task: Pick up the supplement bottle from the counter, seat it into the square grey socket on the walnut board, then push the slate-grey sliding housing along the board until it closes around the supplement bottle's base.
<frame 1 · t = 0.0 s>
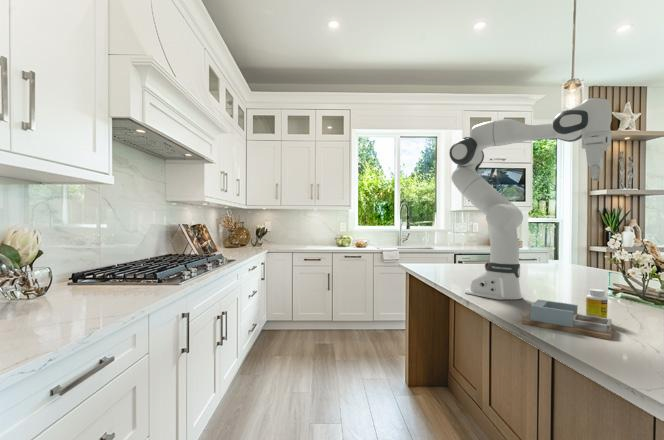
hand: (595, 179, 133), 48 cm above the countertop, tool pointing down, fingers open, 8 cm apart
supplement bottle: (596, 322, 117), on the countertop
board: (567, 326, 111), on the countertop
housing: (554, 312, 113), point 4 cm above the countertop, slide at 0.0 cm
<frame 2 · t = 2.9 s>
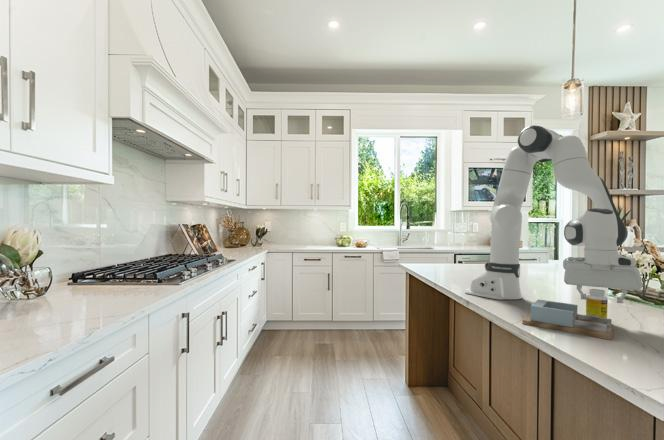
hand: (601, 301, 117), 7 cm above the countertop, tool pointing down, fingers open, 8 cm apart
nothing on the countertop moved.
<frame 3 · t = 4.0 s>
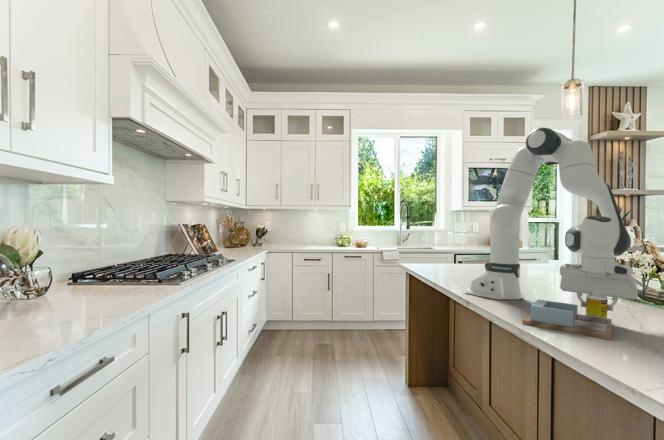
hand: (596, 308, 117), 4 cm above the countertop, tool pointing down, fingers closed on supplement bottle, 5 cm apart
supplement bottle: (596, 321, 117), on the countertop, touching gripper
everything else where it was.
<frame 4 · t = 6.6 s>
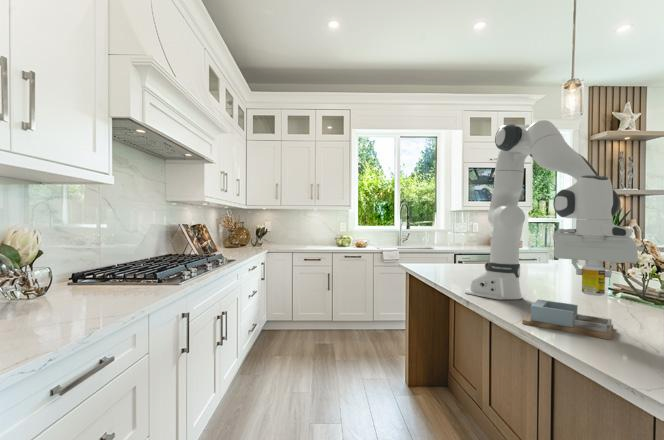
hand: (593, 275, 107), 16 cm above the countertop, tool pointing down, fingers closed on supplement bottle, 5 cm apart
supplement bottle: (593, 294, 107), point 10 cm above the countertop, touching gripper
everything else where it was.
when the fingers open (6 cm above the countertop, at t = 9.1 s): supplement bottle stays where it is, resting on board.
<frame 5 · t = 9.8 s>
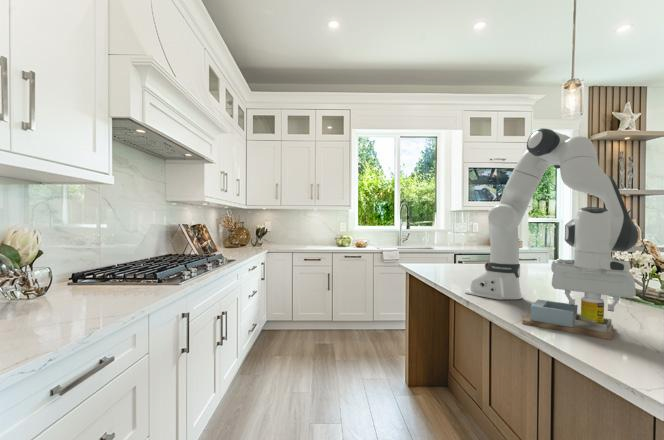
hand: (590, 308, 107), 7 cm above the countertop, tool pointing down, fingers open, 8 cm apart
supplement bottle: (591, 326, 107), point 1 cm above the countertop, touching board
everything else where it was.
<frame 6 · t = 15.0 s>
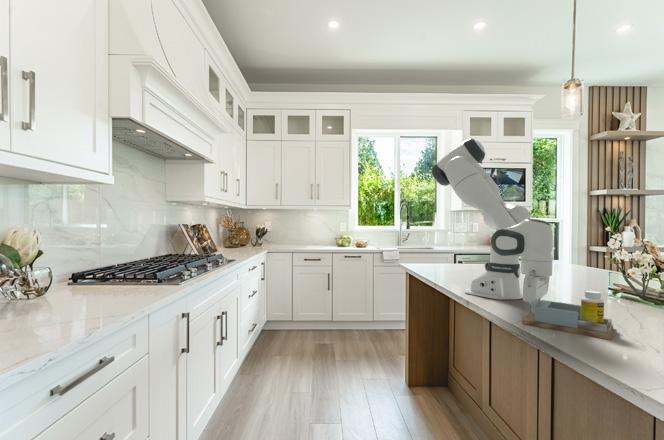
hand: (535, 311, 116), 3 cm above the countertop, tool pointing down, fingers closed
housing: (558, 313, 112), point 4 cm above the countertop, slide at 1.1 cm, touching gripper
everything else where it was.
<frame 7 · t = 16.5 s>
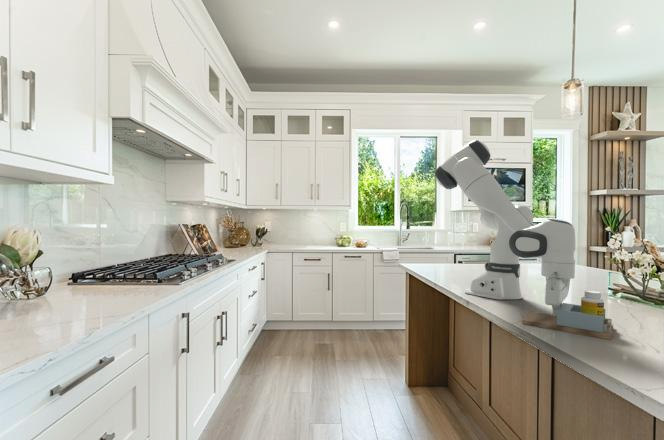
hand: (556, 315, 112), 3 cm above the countertop, tool pointing down, fingers closed, pressing on housing
housing: (581, 316, 108), point 4 cm above the countertop, slide at 7.0 cm, touching gripper
everything else where it was.
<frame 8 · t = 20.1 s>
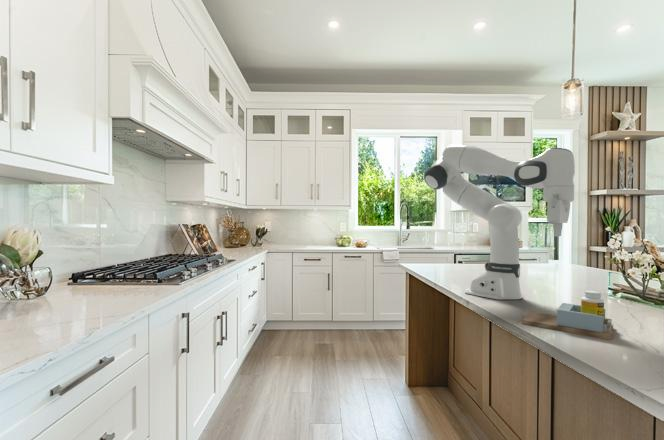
hand: (557, 236, 122), 27 cm above the countertop, tool pointing down, fingers closed
housing: (581, 316, 108), point 4 cm above the countertop, slide at 7.0 cm
everything else where it was.
at the end: supplement bottle 0.4 cm from the target spot, point 1.0 cm above the countertop; supplement bottle tilted 0°; housing slide at 7.0 cm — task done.
